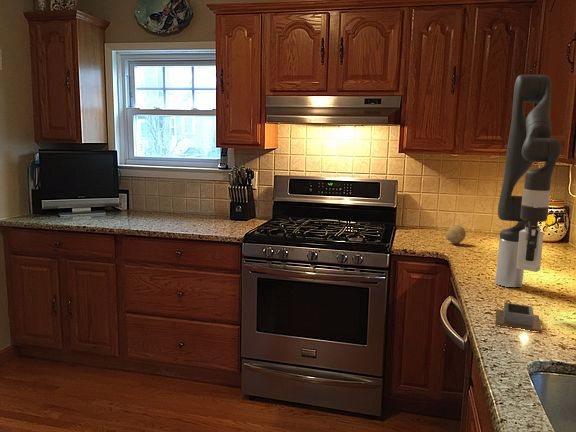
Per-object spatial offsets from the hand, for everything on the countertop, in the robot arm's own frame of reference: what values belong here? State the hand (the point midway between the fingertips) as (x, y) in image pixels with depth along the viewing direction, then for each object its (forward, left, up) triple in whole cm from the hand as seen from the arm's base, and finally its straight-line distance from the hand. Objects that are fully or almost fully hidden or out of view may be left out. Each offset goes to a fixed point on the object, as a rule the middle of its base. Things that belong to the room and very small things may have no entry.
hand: (528, 258), depth 159 cm
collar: (+12, -2, -17) cm, 21 cm away
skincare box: (0, 0, -4) cm, 4 cm away
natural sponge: (-97, -28, -17) cm, 102 cm away
